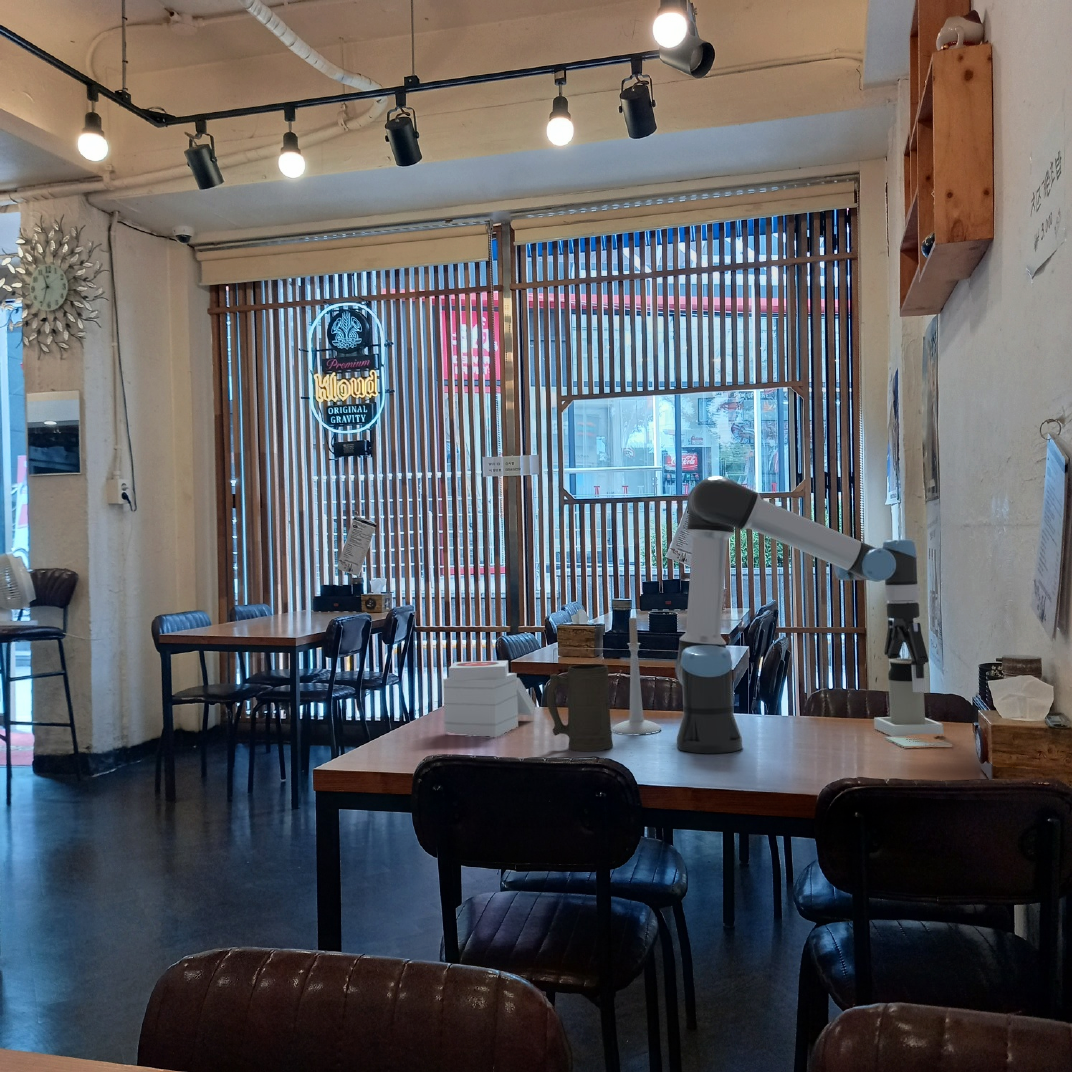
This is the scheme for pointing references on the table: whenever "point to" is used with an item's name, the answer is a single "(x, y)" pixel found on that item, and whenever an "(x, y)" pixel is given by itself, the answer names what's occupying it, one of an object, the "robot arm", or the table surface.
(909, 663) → the travel mug
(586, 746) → the beer stein
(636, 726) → the candlestick
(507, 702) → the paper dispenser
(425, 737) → the table surface
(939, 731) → the square grey tray
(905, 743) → the mat
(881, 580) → the robot arm
